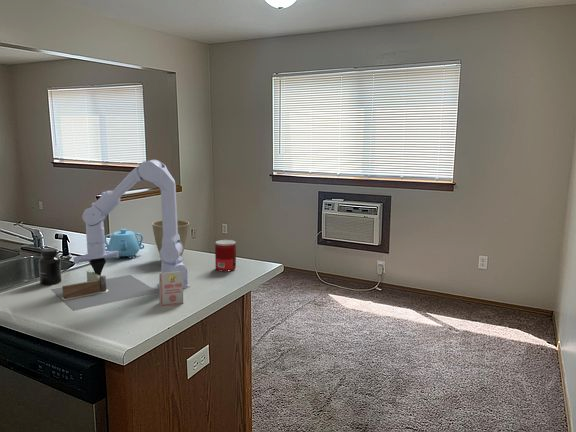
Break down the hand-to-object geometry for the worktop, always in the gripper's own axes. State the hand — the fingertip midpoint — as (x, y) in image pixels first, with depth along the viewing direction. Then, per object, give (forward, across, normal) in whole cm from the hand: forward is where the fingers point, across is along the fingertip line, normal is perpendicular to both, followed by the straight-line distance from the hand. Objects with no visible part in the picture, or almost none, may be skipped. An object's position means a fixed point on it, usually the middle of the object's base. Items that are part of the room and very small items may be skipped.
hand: (98, 280), depth 160 cm
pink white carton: (+2, -12, +31) cm, 33 cm away
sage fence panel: (+1, +1, +1) cm, 2 cm away
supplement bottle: (+2, +12, -12) cm, 17 cm away
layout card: (+2, +1, +8) cm, 8 cm away
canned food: (+2, -46, +10) cm, 47 cm away
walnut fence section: (+2, +7, +8) cm, 11 cm away
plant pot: (+2, -35, -14) cm, 38 cm away
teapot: (+2, -22, -32) cm, 39 cm away
